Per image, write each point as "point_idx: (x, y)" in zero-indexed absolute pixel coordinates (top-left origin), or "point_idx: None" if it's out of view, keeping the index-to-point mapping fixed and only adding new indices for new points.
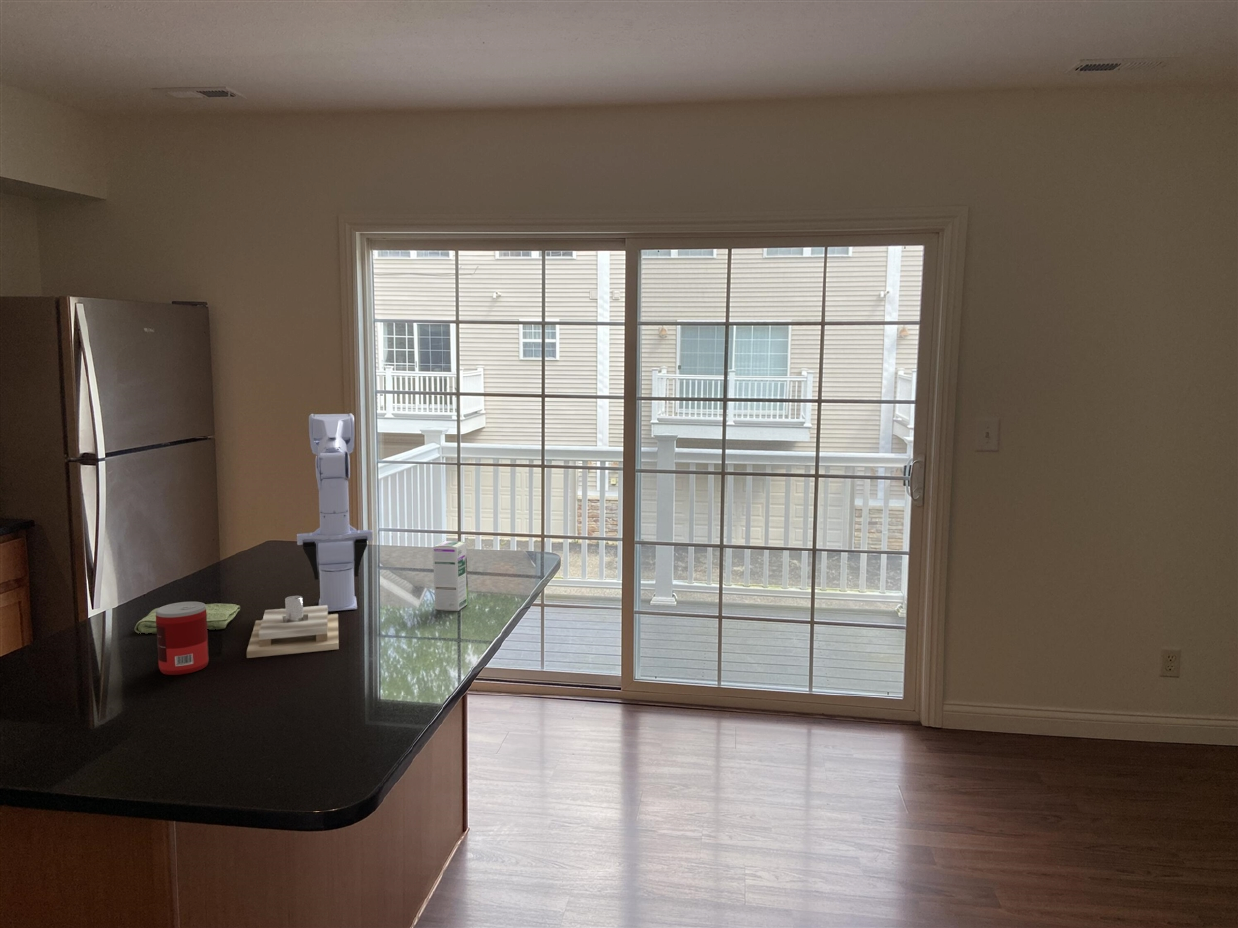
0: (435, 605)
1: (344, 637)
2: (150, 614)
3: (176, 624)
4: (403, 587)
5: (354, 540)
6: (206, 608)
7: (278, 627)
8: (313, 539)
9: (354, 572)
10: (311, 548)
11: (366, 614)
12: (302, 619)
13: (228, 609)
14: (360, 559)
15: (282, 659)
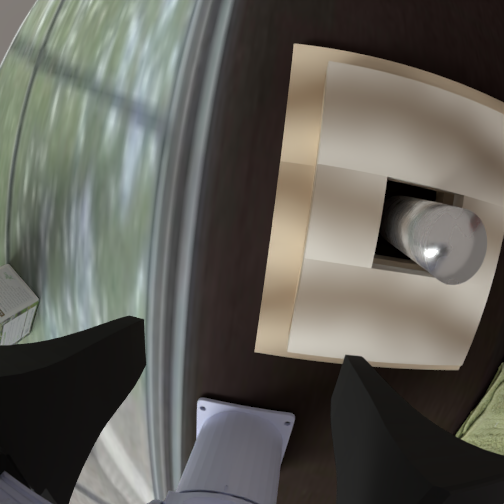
0: (33, 301)
1: (264, 150)
2: None
3: None
4: (111, 462)
5: (7, 477)
6: (497, 442)
7: (473, 148)
8: None
9: (131, 325)
10: (480, 480)
11: (178, 349)
12: (399, 212)
13: (473, 437)
14: (49, 341)
15: (435, 48)
